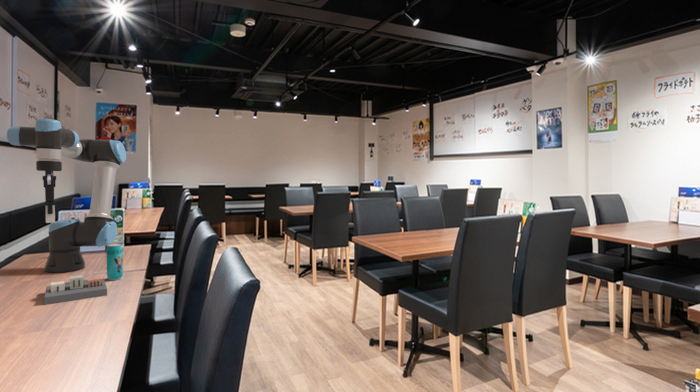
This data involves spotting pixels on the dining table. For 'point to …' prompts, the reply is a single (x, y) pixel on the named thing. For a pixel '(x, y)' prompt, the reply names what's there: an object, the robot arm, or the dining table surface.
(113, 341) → the dining table surface
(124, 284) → the dining table surface
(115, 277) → the beverage can
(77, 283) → the tile two bar
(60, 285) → the cream cube
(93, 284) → the orange cube
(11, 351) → the dining table surface
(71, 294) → the tile board
